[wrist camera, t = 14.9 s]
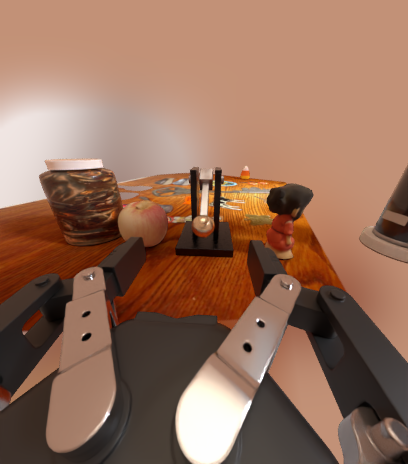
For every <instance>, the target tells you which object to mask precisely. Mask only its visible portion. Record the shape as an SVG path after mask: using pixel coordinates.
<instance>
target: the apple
mask: <svg viewBox="0 0 408 464" xmlns="http://www.w3.org/2000/svg"><path fill="white" fill-rule="evenodd" d="M118 227H119V231H120V234H121V236H122V237H123V239H124V240H125V241H127V240H128V239H129V238H130V237H142V238H143V242H144V247H151V246H155V245H157V244H158V243H160V242H161V241H162V239H163V238H164V236H165V234H166V232H167V228H168V219H167V215H166V213H165V211H164V210H163V209H162V208H161V207H160V206H159V205H158V204H156V203H154V202H152V201H148V200H144V201H139V202H134V203H131V204H128V205H127V206H125V207H124V208H123V209H122V211H121V212H120V214H119V217H118Z"/></svg>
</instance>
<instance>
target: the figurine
mask: <svg viewBox="0 0 408 464" xmlns="http://www.w3.org/2000/svg"><path fill="white" fill-rule="evenodd" d="M312 197H313V193H312V190H310V189H309V188H306V187H304V186H301V185H297V184H286V185H285V186H282V187H278V188H272V189H271V190H270V194H269V196H268V197H267V204H268V206H269V210H270V211H271V212H273V213H277V214H278V215H277V216H276V217H275V219H273V222H272V227H271V228H270V229H269V230H268V231H267V242H266V245H265V247H267V248H270V249H271V250H273V251H274V252H275V254H276V256H277V258H280V259H289V258H293V255H292V253H291V250H290V249H291V248H292V247H293V245H294V239H293V237H292V236H291V235H292V233H293V231H294V230H293V222H294V221H295V220H297V219H298V218H300V216H301V215H302V213H303V210H304V209H305V207H306V206H307V205H308V204H309V202H310V201H311V199H312Z"/></svg>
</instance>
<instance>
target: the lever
mask: <svg viewBox="0 0 408 464" xmlns="http://www.w3.org/2000/svg"><path fill="white" fill-rule="evenodd" d="M199 184H200V190H202V196H201V208H200V215H199V216H197V217H196V218H195V219H194V220H193V222H192V230H193V232H194V234H195V235H196V236H198V237H201V238H205V237H208V236H210V235H211V234H212V233H213V231H214V222H213V220H212V219H211V218H210V217H209V216H208V200H209V190H212V186H213V169H200V176H199Z"/></svg>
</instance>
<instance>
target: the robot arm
mask: <svg viewBox="0 0 408 464" xmlns="http://www.w3.org/2000/svg"><path fill="white" fill-rule="evenodd" d="M372 233H373V234H374V235H375V236H377V237H378V238H380V239H382V240H384V241H387V242H389V243H392V244H394V245H398V246H401V247H404V248H408V165H407V167H406V169H405V171H404V173H403V175H402V176H401V178H400V180H399V182H398V184H397V186H396V188H395V190H394V192H393V194H392V196H391V197H390V199H389V201H388V203H387V205H386V207H385V208H384V210H383V212H382V214H381V216H380V218H379V220H378V221H377V223H376V226H375V227H374V228H373V230H372ZM145 260H146V252H145V247H144V242H143V238H142V237H130V238H129V239H128V240H127V241H126V242H125V243H123V244H121V245H119V246H117V247H116V248H115V249H114V250H113V252H111V253H110V254H109V255H108V256H107V257H106V258H105V259H104V260H103V261H102V262H101V263H100V264H99V265H98V266H97V267H90V268H87V269H85V270H83V271H81V272H79V273H78V274H77V275H76V276H75V277H74V278H71V279H65V280H61V279H60V277H59V275H58V274H54V273H52V274H46V275H43V276H40V277H38V278H36V279H34V280H32V281H31V282H29V283H28V284H27V285H25V286H24V287H23V288H22V289H20V290H19V291H18V292H16V293H15V294H14V295H12V296H11V297H10V298H8V299H7V300H6V301H4V302H3V303H2V304H1V305H0V464H339V463H338V461H337V460H336V458H335V457H334V455H333V454H332V452H331V451H330V449H329V448H328V447H327V446H326V444H325V443H324V442H323V441H322V439H321V438H320V437H319V436H318V434H317V433H316V432H315V431H314V429H313V428H312V427H311V426H310V424H309V423H308V422H307V421H306V419H305V418H304V417H303V416H302V415H301V413H300V412H299V411H298V409H297V408H296V407H295V406H294V404H293V403H292V402H291V401H290V399H289V398H288V397H287V396H286V394H285V393H284V392H283V391H282V389H281V388H280V387H279V386H278V384H277V383H276V382H275V381H274V380H273V378H272V377H271V376H270V374H269V373H268V372H269V370H270V367H271V365H272V362H273V360H274V357H275V354H276V352H277V350H278V347H279V345H280V342H281V340H282V337H283V335H284V333H285V330H286V328H287V326H288V325H291V326H294V327H297V328H300V329H303V330H305V331H306V333H307V335H308V338H309V340H310V342H311V345H312V347H313V349H314V351H315V354H316V356H317V358H318V361H319V363H320V365H321V367H322V370H323V372H324V374H325V377H326V379H327V381H328V384H329V386H330V388H331V391H332V393H333V395H334V397H335V400H336V402H337V404H338V406H339V409H340V411H341V414H342V416H343V418H344V419H343V420H342V422H341V423H340V424H339V428H338V436H339V441H340V445H341V448H342V451H343V456H344V464H408V363H407V361H406V360H405V359H404V358H403V357H402V356H401V354H400V353H399V352H398V351H397V350H396V348H395V347H394V346H393V345H392V344H391V343H390V341H389V340H388V339H387V338H386V337H385V335H384V334H383V333H382V332H381V331H380V330H379V328H378V327H377V326H376V325H375V324H374V323H373V321H372V320H371V319H370V318H369V317H368V315H367V314H366V313H365V312H364V311H363V310H362V308H361V307H360V306H359V305H358V304H357V303H356V301H355V300H354V299H353V298H352V297H351V296H350V295H349V294H348V293H346V292H345V291H343V290H341V289H339V288H337V287H334V286H322V287H321V288H320V290H319V292H318V291H315V290H311V289H307V288H304V287H301V285H300V283H299V282H298V281H297V280H296V279H295V278H293V277H291V276H289V275H287V273H286V271H285V270H284V268H283V266H282V264H281V263H280V262H279V259H278V258H277V256H276V254H275V252H274V251H273V250H271V249H270V248H267V247H265V246H264V244H263V242H262V241H260V240H251V241H250V244H249V251H248V257H247V265H248V269H249V273H250V276H251V280H252V284H253V287H254V291H255V294H256V297H255V298H254V299H253V301H252V302H251V304H250V305H249V306H248V308H247V309H246V311H245V312H244V314H243V315H242V316H241V318H240V319H239V321H238V322H237V323H236V325H235V326H234V328H233V329H232V330H231V329H230V328H228V327H226V326H224V325H222V324H220V323H217V316H210V315H194V316H188V317H183V318H177V319H176V318H172V317H169V316H166V315H163V314H160V313H155V312H138V313H137V315H136V317H135V318H134V319H131V320H127V321H125V322H122V323H120V324H119V321H118V316H117V311H116V306H115V302H114V298H115V296H124V295H125V293H126V292H127V290H128V288H129V287H130V285H131V284H132V282H133V280H134V279H135V277H136V276H137V274H138V272H139V271H140V269H141V268H142V266H143V264H144V263H145ZM38 310H40V312H41V313H42V314H43V316H42V317H41V318H40V319H39V321H38V322H37V323H36V324H35V325H34V326H33V327H32V328H31V329H30V330H29V331H28V332H27V333H26V334H25V335H23V333H22V328H23V325H24V324H25V322H26V321H27V320H28V319H29V318H30V317H31V316H32V315H33V314H34V313H36V312H37V311H38ZM62 332H63V338H62V346H61V355H60V365H59V368H58V369H57V370H55V371H54V372H53V373H51V374H50V375H49V376H47V377H46V378H44V379H43V380H42V381H40V382H39V383H38V384H36V385H35V386H34V387H32V388H31V389H30V390H28V391H27V392H26V393H24V394H23V395H22V396H20V397H19V398H17V399H16V400H15V401H13V402H12V403H11V404H9V403H10V400H11V397H12V396H13V395H14V393H15V392H16V391H17V389H18V388H19V387H20V386H21V384H22V383H23V382H24V380H25V379H26V378H27V377H28V375H29V374H30V373H31V371H32V370H33V369H34V368H35V366H36V365H37V364H38V362H39V361H40V360H41V359H42V357H43V356H44V355H45V353H46V352H47V351H48V350H49V348H50V347H51V346H52V344H53V343H54V342H55V340H56V339H57V338H58V337H59V335H60V334H61V333H62Z"/></svg>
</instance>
